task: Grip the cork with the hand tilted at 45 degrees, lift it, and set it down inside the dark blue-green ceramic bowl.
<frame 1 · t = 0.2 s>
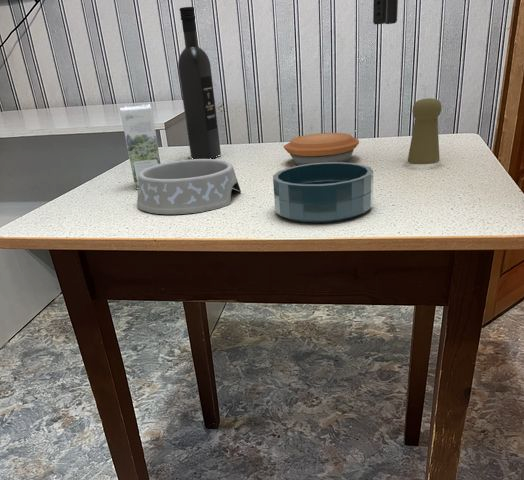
hand: (385, 23, 95), 24 cm above the table, tool pointing down, fingers open, 8 cm apart
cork: (423, 161, 105), on the table
dog bowl: (190, 200, 94), on the table
bowl: (323, 210, 82), on the table
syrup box: (150, 186, 106), on the table
pie: (321, 162, 112), on the table
wine bottle: (206, 158, 126), on the table
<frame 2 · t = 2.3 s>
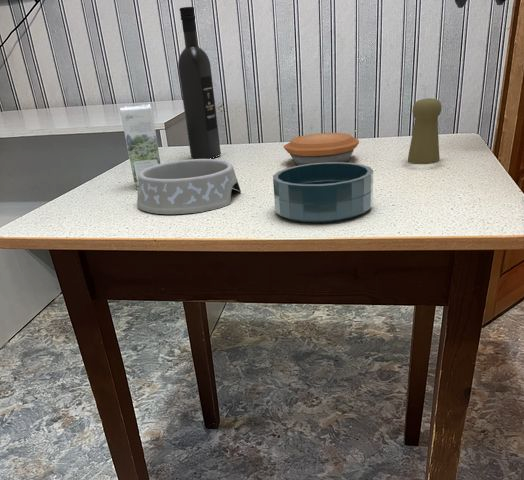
hand: (477, 3, 96), 26 cm above the table, tool tilted 45°, fingers open, 8 cm apart
nothing on the table moved.
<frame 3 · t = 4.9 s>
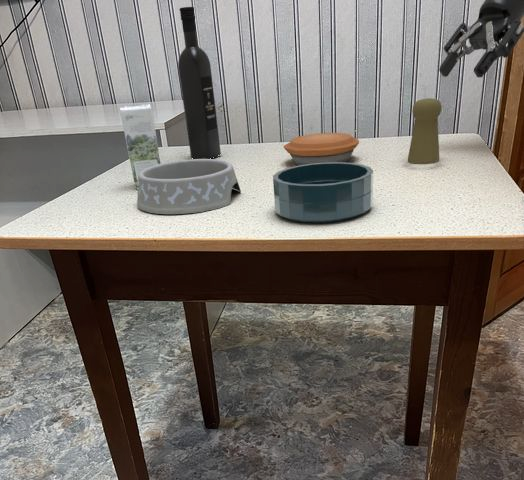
hand: (459, 74, 101), 14 cm above the table, tool tilted 45°, fingers open, 8 cm apart
nothing on the table moved.
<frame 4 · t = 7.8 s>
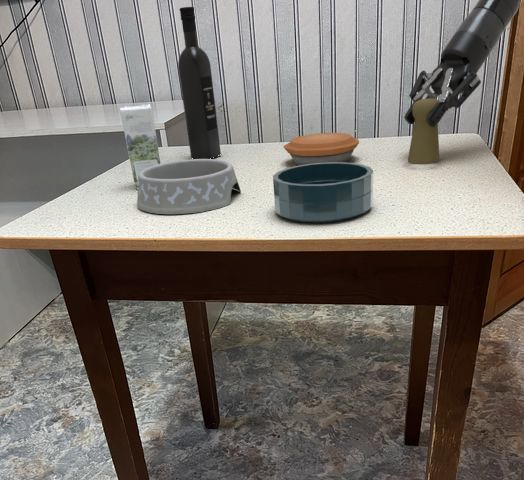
hand: (418, 122, 101), 7 cm above the table, tool tilted 45°, fingers closed on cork, 5 cm apart
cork: (423, 161, 105), on the table, touching gripper
everything else where it was.
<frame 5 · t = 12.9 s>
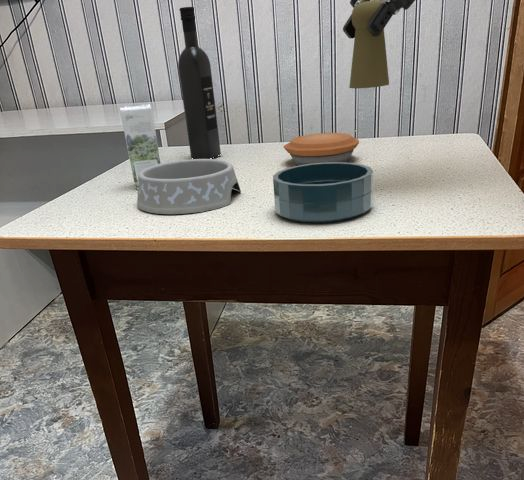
hand: (359, 33, 78), 23 cm above the table, tool tilted 45°, fingers closed on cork, 5 cm apart
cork: (369, 87, 83), point 15 cm above the table, touching gripper
everything else where it was.
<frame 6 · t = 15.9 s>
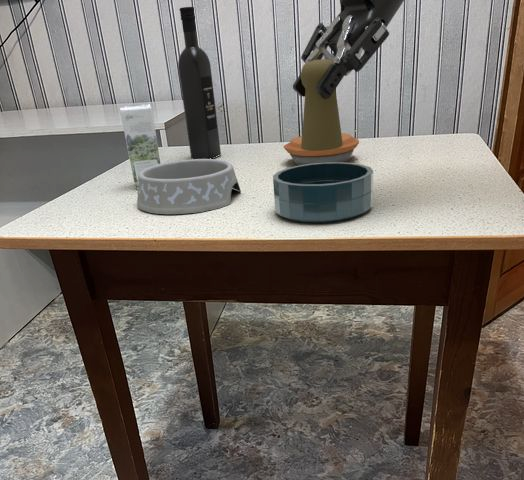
hand: (309, 93, 73), 16 cm above the table, tool tilted 45°, fingers closed on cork, 5 cm apart
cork: (321, 147, 77), point 9 cm above the table, touching gripper
everything else where it was.
when the fingers open (8 cm above the table, at t = 18.4 s): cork stays where it is, resting on bowl.
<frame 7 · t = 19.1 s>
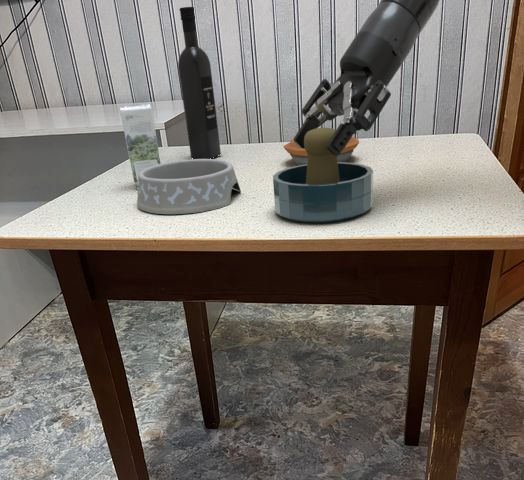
hand: (314, 148, 77), 9 cm above the table, tool tilted 45°, fingers open, 8 cm apart
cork: (323, 207, 82), resting on bowl
everything else where it was.
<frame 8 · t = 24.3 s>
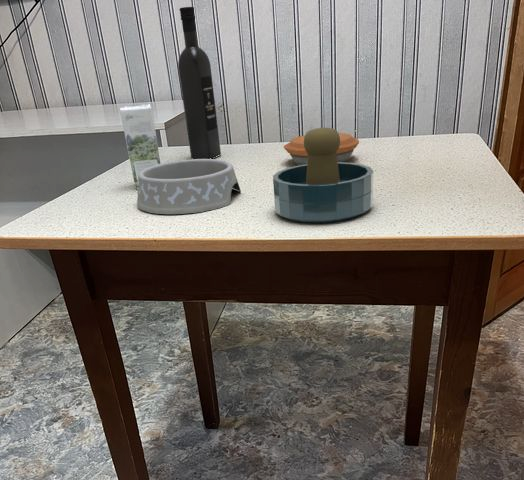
nothing on the table moved.
at the end: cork inside the target area in the bowl (0.1 cm from its centre), point 0.4 cm above the bowl's base; the gripper is holding nothing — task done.
